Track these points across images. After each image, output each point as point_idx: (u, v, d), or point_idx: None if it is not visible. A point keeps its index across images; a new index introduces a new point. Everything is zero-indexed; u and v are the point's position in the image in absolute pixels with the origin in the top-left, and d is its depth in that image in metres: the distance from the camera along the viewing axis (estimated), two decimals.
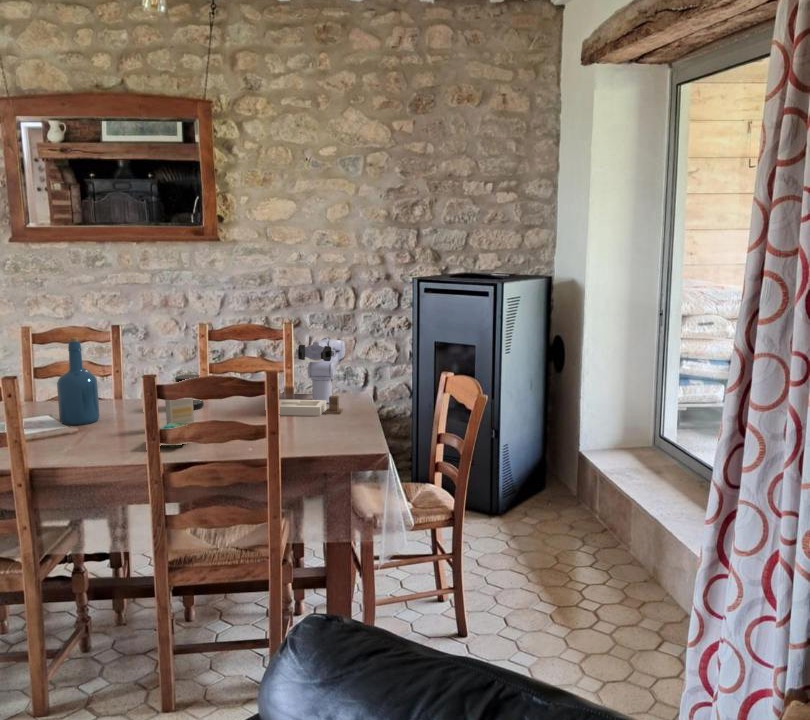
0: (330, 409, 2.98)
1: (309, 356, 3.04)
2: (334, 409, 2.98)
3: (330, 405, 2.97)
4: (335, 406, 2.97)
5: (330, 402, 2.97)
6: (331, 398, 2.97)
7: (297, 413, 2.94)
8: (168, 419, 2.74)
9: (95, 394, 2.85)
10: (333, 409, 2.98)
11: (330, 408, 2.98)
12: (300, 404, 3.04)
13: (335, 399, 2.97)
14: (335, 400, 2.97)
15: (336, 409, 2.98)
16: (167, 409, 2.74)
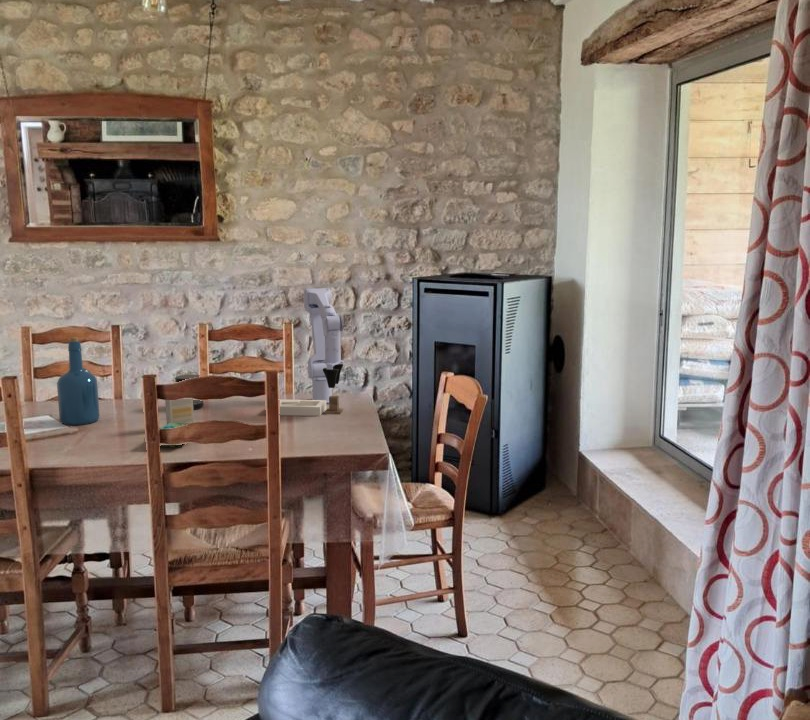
0: (330, 409, 2.98)
1: None
2: (334, 409, 2.98)
3: (330, 405, 2.97)
4: (335, 406, 2.97)
5: (330, 402, 2.97)
6: (331, 398, 2.97)
7: (297, 413, 2.94)
8: (168, 419, 2.74)
9: (95, 394, 2.85)
10: (333, 409, 2.98)
11: (330, 408, 2.98)
12: (300, 404, 3.04)
13: (335, 399, 2.97)
14: (335, 400, 2.97)
15: (336, 409, 2.98)
16: (167, 409, 2.74)
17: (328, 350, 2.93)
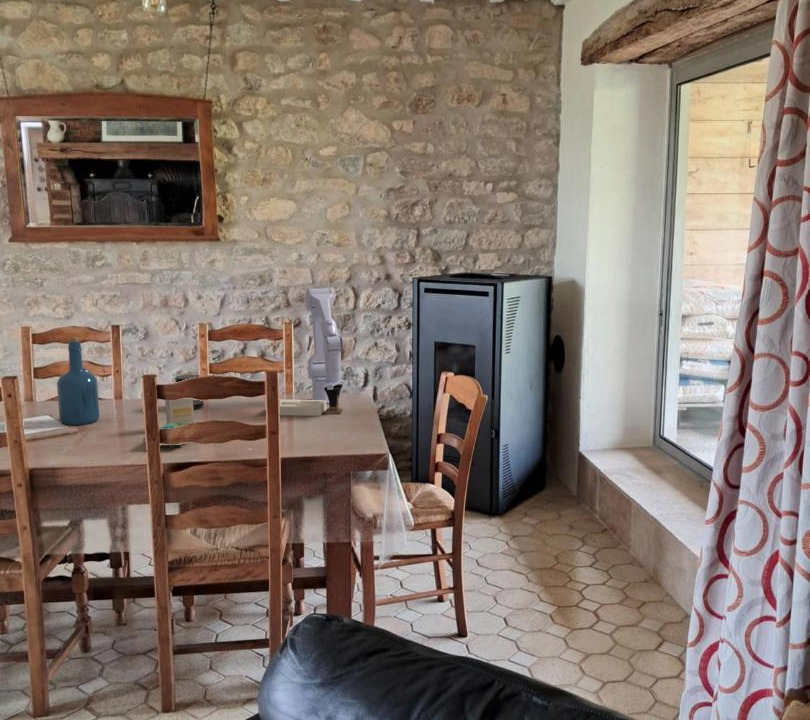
0: (330, 409, 2.98)
1: (327, 383, 2.95)
2: (334, 409, 2.98)
3: None
4: None
5: None
6: None
7: (297, 413, 2.94)
8: (168, 419, 2.74)
9: (95, 394, 2.85)
10: (333, 409, 2.98)
11: (330, 408, 2.98)
12: (300, 404, 3.04)
13: None
14: None
15: (336, 409, 2.98)
16: (167, 409, 2.74)
17: (328, 370, 2.94)
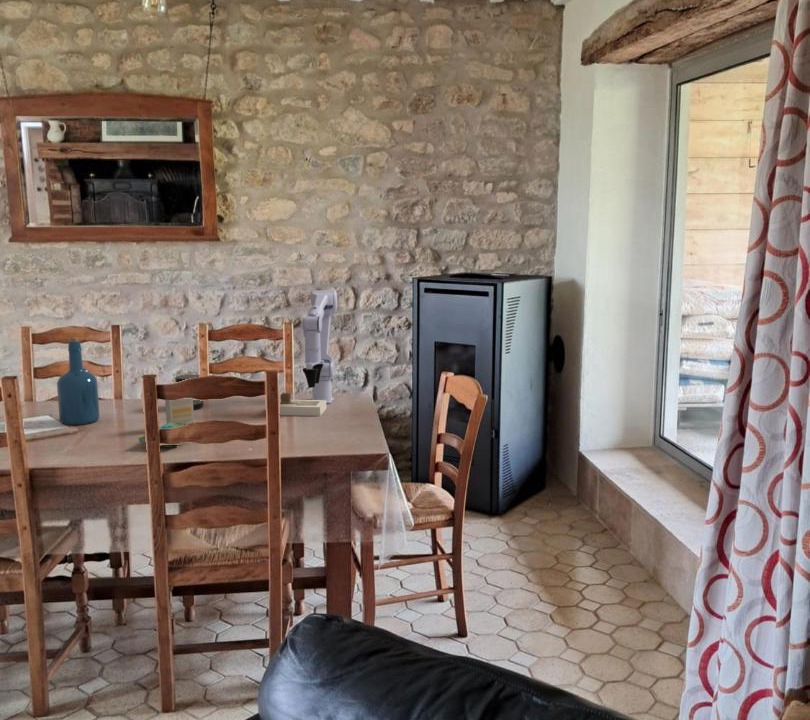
0: None
1: (307, 363, 2.98)
2: None
3: (282, 402, 2.99)
4: (286, 403, 2.99)
5: (282, 399, 2.99)
6: (282, 395, 2.99)
7: (297, 413, 2.94)
8: (168, 419, 2.74)
9: (95, 394, 2.85)
10: None
11: None
12: (300, 404, 3.04)
13: (286, 396, 2.98)
14: (286, 397, 2.98)
15: None
16: (167, 409, 2.74)
17: (308, 350, 2.97)
